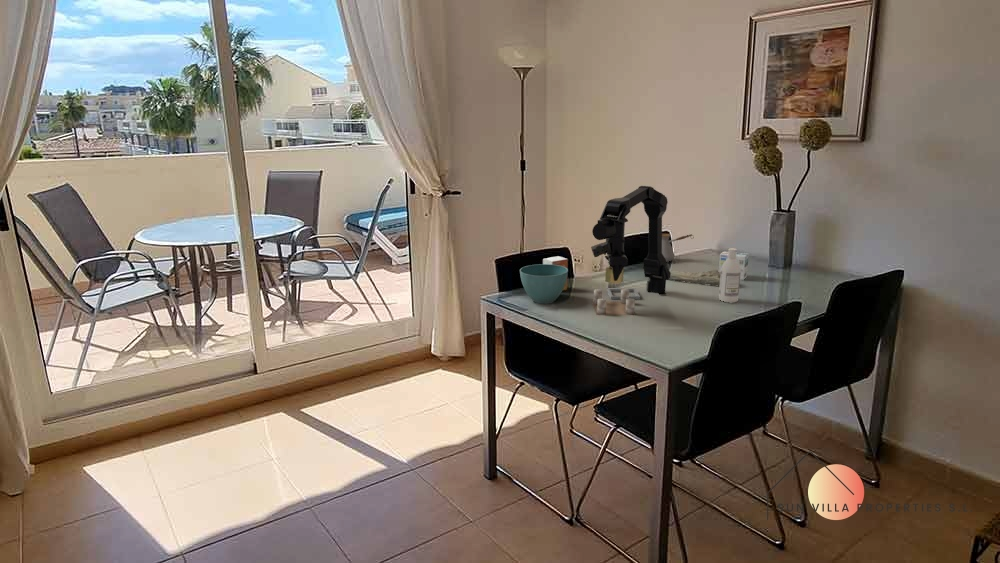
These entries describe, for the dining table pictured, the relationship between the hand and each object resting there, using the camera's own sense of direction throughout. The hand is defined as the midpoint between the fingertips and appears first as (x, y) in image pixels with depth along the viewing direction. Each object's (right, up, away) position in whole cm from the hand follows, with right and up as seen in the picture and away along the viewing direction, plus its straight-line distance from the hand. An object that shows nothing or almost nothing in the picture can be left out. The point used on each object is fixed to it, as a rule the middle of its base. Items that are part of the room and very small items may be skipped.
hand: (614, 278), depth 223 cm
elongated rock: (+41, -1, +40) cm, 58 cm away
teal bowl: (-24, -9, +16) cm, 30 cm away
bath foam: (+46, -8, +13) cm, 48 cm away
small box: (-19, -5, +30) cm, 36 cm away
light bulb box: (+59, 0, +44) cm, 74 cm away
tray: (+7, -7, +18) cm, 21 cm away
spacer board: (0, -11, +3) cm, 12 cm away
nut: (0, -1, 0) cm, 1 cm away
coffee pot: (+40, +8, +72) cm, 83 cm away
